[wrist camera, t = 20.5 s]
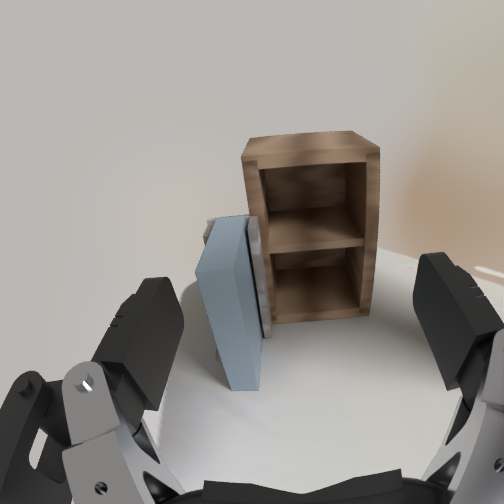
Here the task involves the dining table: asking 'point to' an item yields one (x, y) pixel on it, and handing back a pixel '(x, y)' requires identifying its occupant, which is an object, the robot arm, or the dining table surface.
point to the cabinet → (311, 224)
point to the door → (232, 301)
